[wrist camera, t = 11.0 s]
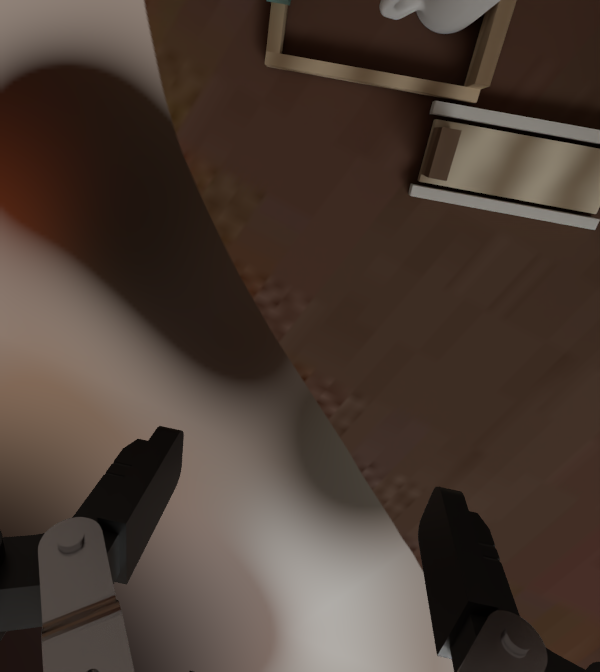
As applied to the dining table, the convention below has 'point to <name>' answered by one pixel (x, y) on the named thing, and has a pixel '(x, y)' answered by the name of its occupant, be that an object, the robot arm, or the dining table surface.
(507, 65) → the dining table surface
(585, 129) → the lane rails
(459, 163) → the plain strip
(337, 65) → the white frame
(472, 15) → the mug
